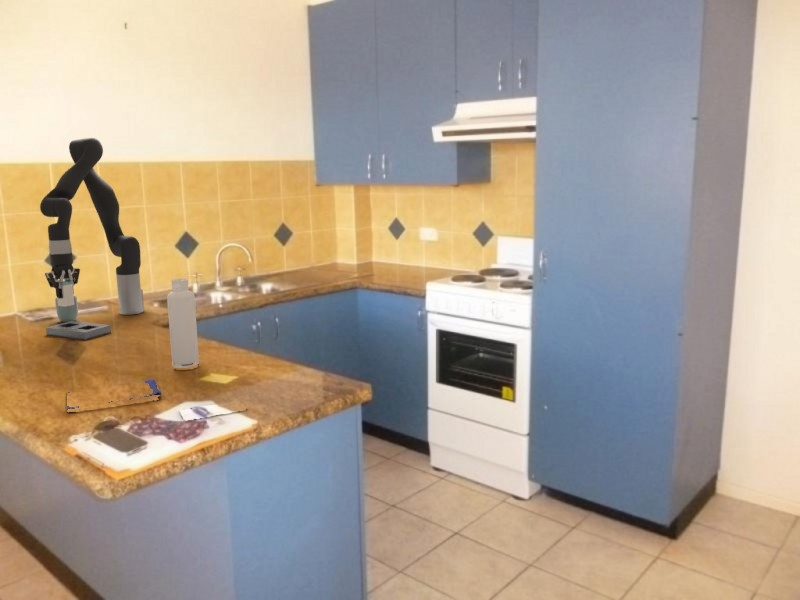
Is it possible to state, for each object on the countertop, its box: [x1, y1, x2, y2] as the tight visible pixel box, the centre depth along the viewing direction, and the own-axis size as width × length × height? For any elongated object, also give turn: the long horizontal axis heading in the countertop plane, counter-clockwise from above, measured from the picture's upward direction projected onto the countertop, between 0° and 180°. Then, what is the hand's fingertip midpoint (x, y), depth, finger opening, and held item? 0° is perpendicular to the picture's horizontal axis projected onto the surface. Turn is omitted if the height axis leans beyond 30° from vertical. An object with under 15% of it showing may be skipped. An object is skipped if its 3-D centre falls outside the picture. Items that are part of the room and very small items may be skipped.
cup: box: [54, 295, 79, 323], centre depth 275 cm, size 8×8×10 cm
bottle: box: [166, 277, 200, 368], centre depth 209 cm, size 8×8×28 cm
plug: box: [56, 280, 75, 307], centre depth 253 cm, size 4×4×9 cm
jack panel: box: [45, 320, 112, 341], centre depth 254 cm, size 12×20×3 cm, turn 66°
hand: (65, 296), depth 254 cm, fingers closed on plug, 4 cm apart
